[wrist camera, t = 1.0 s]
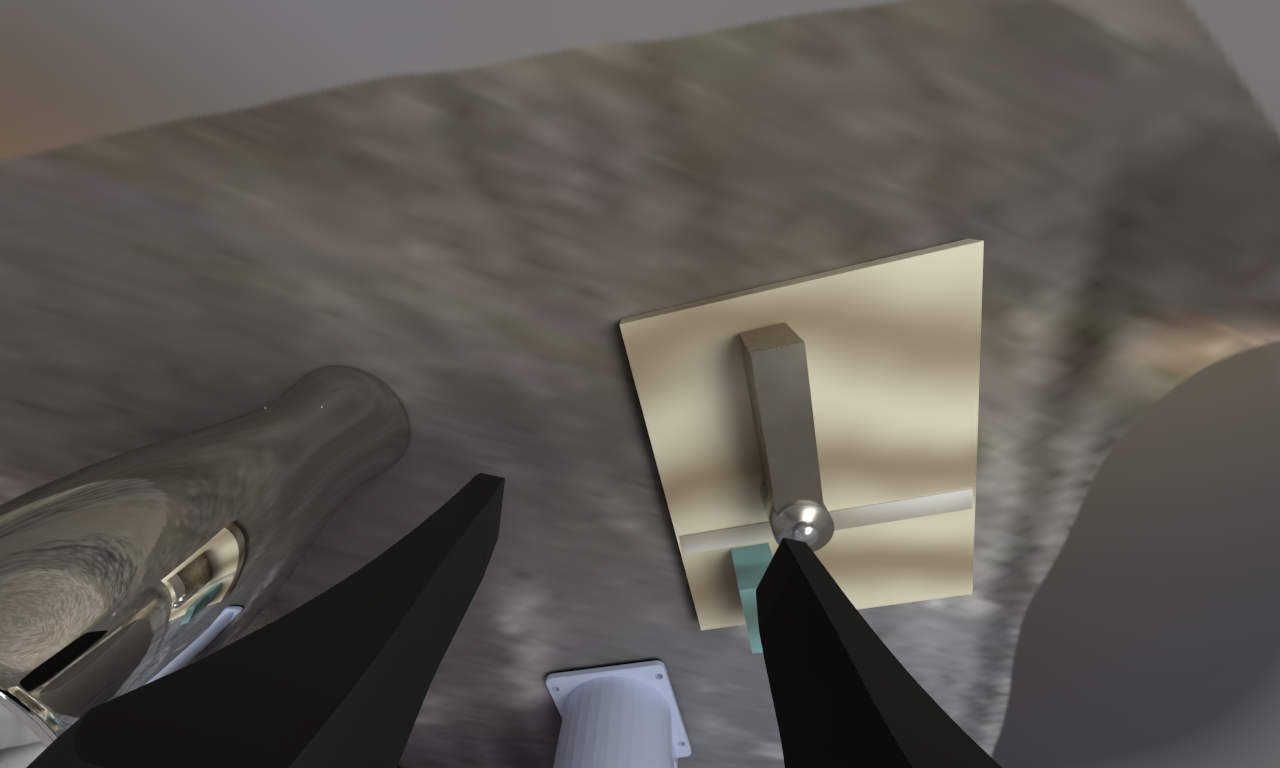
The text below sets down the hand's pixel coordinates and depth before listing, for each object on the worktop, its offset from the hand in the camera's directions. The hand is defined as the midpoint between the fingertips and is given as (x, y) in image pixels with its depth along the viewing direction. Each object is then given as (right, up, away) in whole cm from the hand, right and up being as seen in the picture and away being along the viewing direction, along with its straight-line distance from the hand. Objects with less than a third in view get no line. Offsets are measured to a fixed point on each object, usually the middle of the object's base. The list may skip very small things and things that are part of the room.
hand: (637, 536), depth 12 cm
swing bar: (+6, +2, +10) cm, 12 cm away
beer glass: (-15, +2, +12) cm, 19 cm away
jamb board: (+9, 0, +12) cm, 15 cm away
